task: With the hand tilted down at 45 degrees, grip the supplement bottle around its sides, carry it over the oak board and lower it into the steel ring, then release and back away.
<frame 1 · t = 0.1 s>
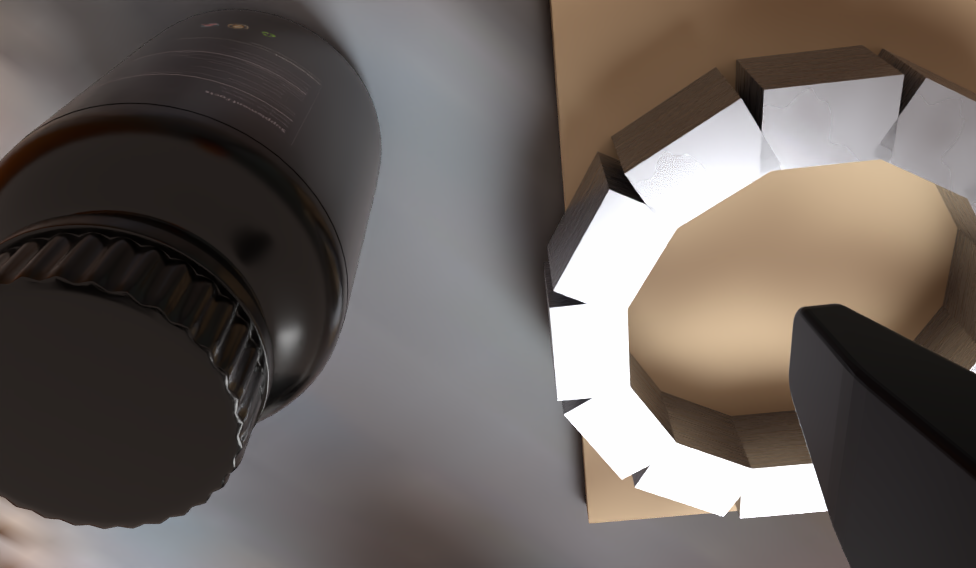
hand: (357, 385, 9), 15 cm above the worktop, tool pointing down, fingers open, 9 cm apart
steel ring: (781, 284, 24), resting on oak board
oak board: (807, 267, 25), on the worktop
supplement bottle: (261, 128, 23), on the worktop
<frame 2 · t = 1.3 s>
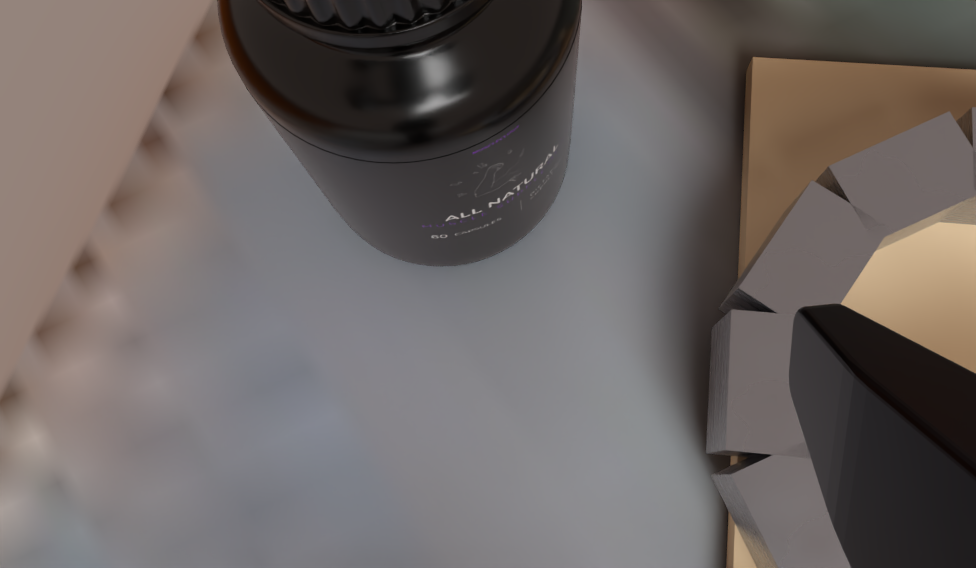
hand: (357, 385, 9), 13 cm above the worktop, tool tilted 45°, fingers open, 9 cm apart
supplement bottle: (449, 155, 24), on the worktop
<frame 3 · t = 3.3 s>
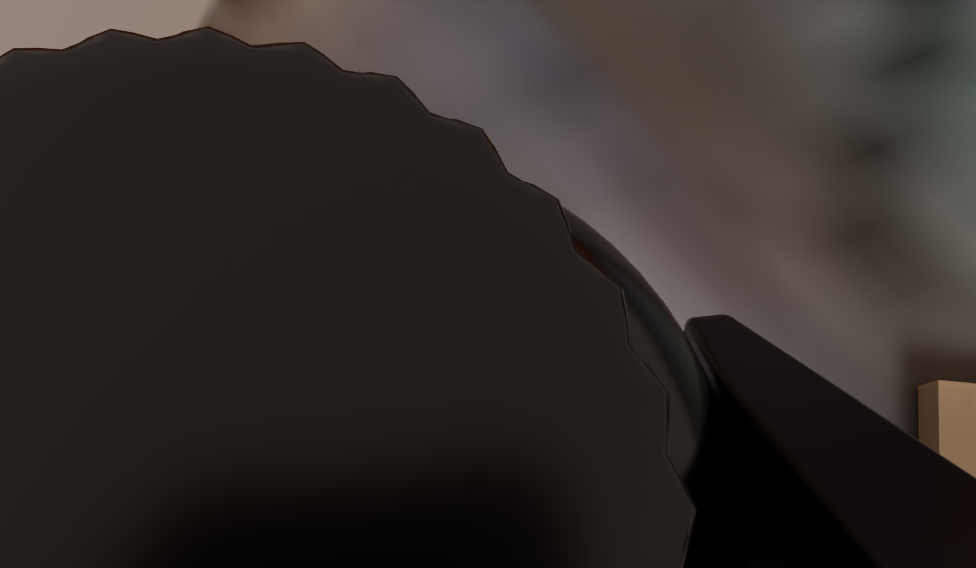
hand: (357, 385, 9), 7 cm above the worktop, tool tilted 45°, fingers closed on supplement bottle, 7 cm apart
supplement bottle: (445, 511, 15), on the worktop, touching gripper
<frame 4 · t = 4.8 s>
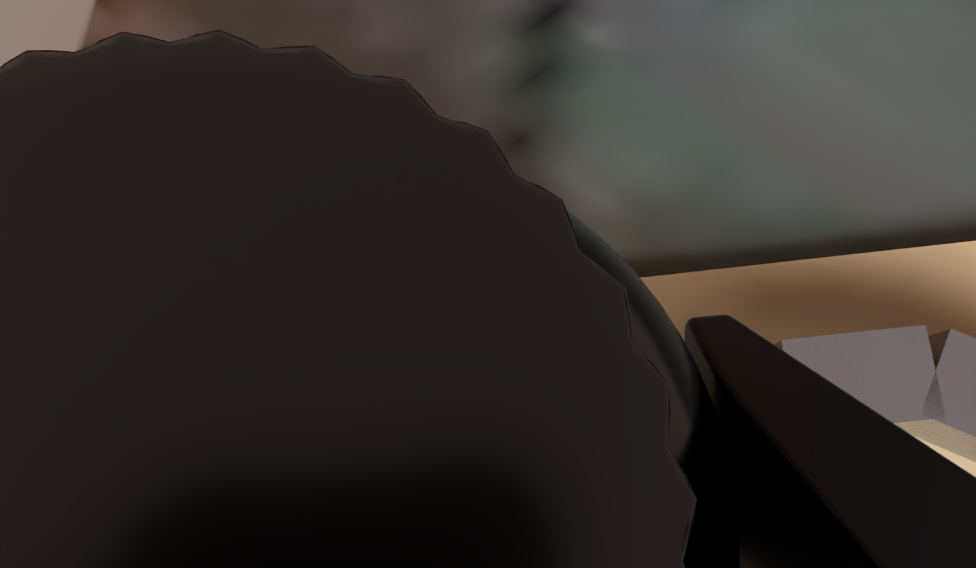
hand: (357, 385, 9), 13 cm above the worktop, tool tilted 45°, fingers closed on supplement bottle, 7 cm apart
supplement bottle: (437, 506, 15), point 6 cm above the worktop, touching gripper
when the fingers open (9 cm above the worktop, at t = 6.7 s): supplement bottle drops 1 cm, resting on oak board.
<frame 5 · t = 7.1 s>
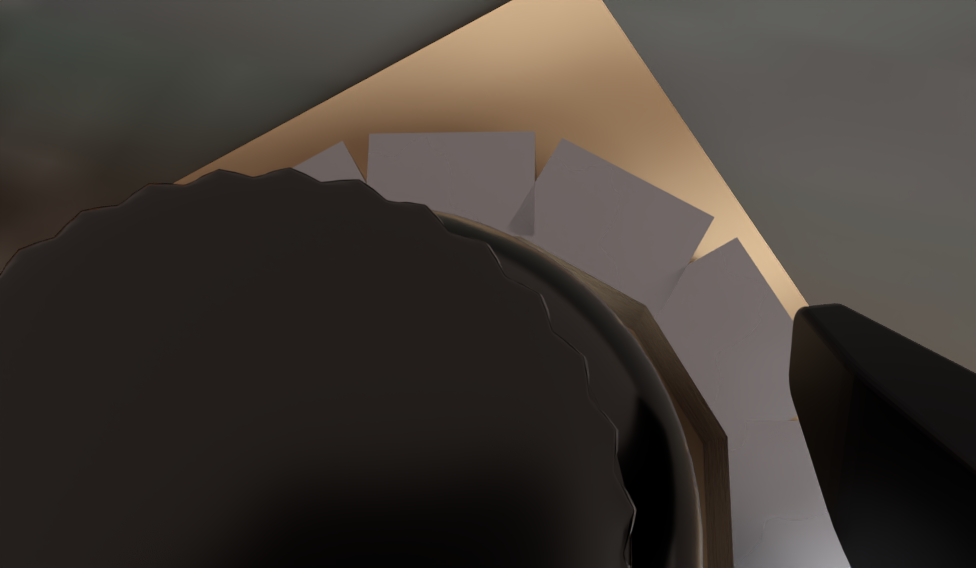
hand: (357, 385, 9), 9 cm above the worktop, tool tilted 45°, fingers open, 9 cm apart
steel ring: (456, 506, 16), resting on oak board
oak board: (503, 481, 17), on the worktop
supplement bottle: (452, 509, 17), point 1 cm above the worktop, touching oak board
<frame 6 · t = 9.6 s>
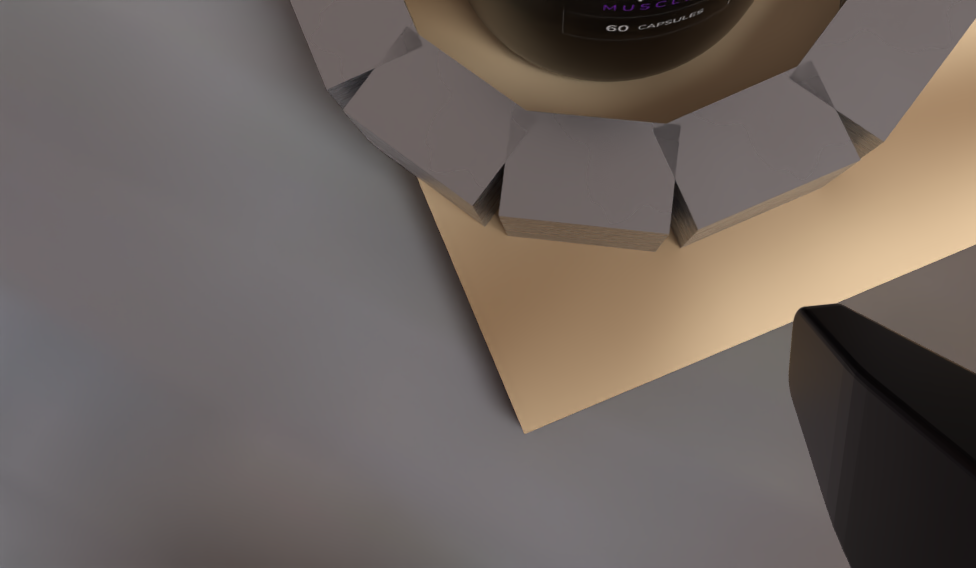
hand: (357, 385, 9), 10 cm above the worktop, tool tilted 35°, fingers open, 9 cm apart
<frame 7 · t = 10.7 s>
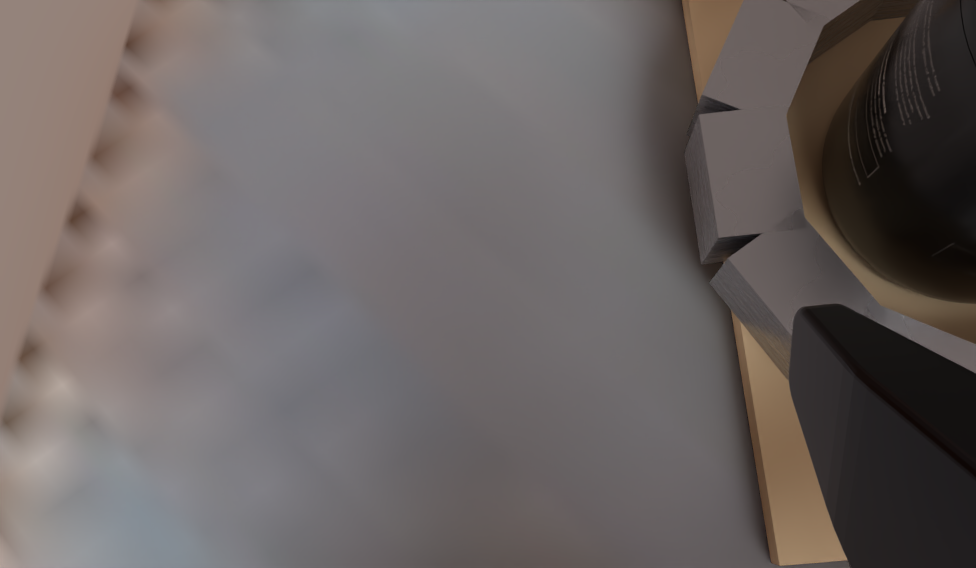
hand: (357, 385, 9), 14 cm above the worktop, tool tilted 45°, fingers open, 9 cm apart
steel ring: (956, 179, 22), resting on oak board
supplement bottle: (948, 182, 22), point 1 cm above the worktop, touching oak board
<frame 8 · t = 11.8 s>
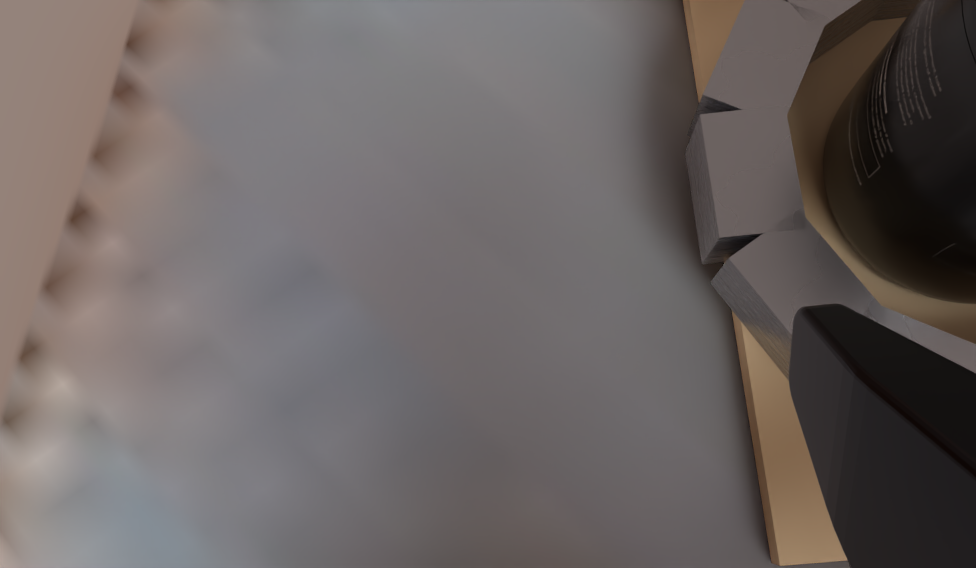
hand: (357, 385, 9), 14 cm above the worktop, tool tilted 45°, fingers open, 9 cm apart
steel ring: (957, 180, 22), resting on oak board
supplement bottle: (949, 183, 22), point 1 cm above the worktop, touching oak board
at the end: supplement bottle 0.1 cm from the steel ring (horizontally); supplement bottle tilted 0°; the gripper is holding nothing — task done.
